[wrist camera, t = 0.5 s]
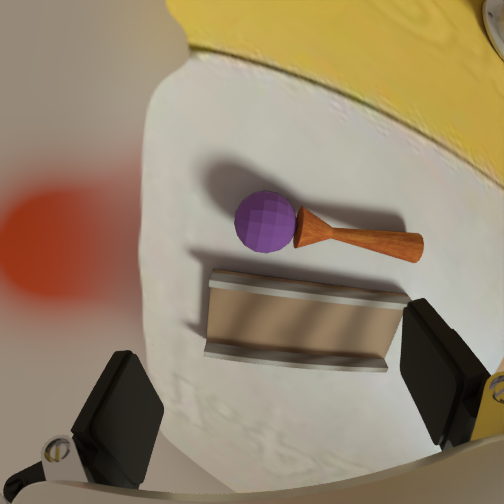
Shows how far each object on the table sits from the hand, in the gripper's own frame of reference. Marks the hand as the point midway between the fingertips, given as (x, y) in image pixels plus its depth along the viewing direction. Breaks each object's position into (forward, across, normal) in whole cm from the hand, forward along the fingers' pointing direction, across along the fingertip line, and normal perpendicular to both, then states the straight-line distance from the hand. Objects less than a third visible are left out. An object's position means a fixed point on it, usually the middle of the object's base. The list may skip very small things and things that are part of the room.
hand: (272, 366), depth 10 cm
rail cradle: (+25, -2, +15) cm, 29 cm away
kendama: (+25, -7, +4) cm, 26 cm away
